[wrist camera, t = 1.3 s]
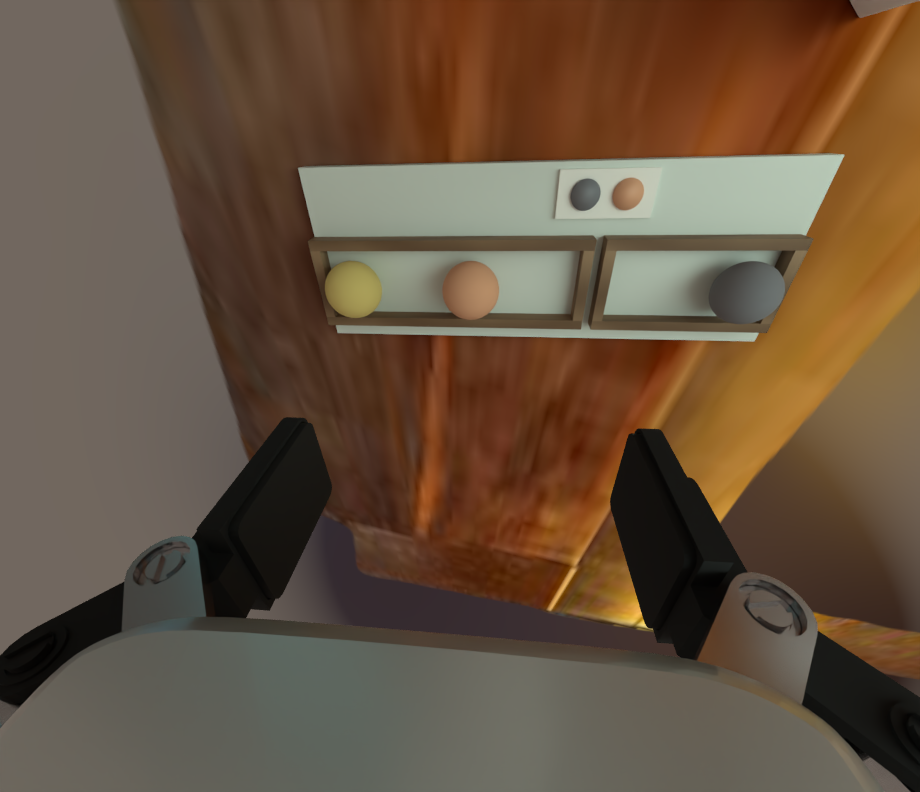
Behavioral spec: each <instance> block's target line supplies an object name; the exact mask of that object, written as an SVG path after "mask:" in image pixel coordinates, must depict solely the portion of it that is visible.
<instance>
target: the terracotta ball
mask: <svg viewBox="0 0 920 792" xmlns="http://www.w3.org/2000/svg"><path fill="white" fill-rule="evenodd" d="M442 293H443V299H444V302H445V304H446V306H447V307H448V309H449V310H450V311H451V312H452V313H453V314H454V315H456V316H457V317H459V318H462V319H466V320H475V319H479V318H482V317H484V316H485V315H487V314H488V313H490V311H491V310H492V309H493V308H494V306H495V305H496V303H497V300H498V296H499V284H498V280H497V278H496V276H495V274H494V273H493V271H492V270H491V269H490V268H489V267H488V266H486V265H485V264H483V263H480V262H477V261H465V262H462V263H459V264H457V265H456V266H454V267H453V268H452V269H451V270H450V271H449V272H448V274H447V275H446V277H445V279H444V282H443V288H442Z"/></svg>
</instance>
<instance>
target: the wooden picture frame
mask: <svg viewBox="0 0 920 792" xmlns="http://www.w3.org/2000/svg"><path fill="white" fill-rule="evenodd" d="M596 241H597V239H596V238H595V237H594V236H593V235H559V236H380V237H313V238H312V239H310V240H308V245H309V249H310V253H311V257H312V261H313V265H314V269H315V273H316V277H317V281H318V284H319V288H320V292H321V296H322V300H323V304H324V308H325V312H326V316H327V320H328V324H329V325H354V326H410V327H466V328H522V329H577V330H581V326H582V321H583V315H584V309H585V304H586V298H587V292H588V287H589V281H590V275H591V270H592V264H593V258H594V253H595V247H596ZM327 251H580V256H579V263H578V269H577V276H576V282H575V289H574V295H573V301H572V308H571V314H526V313H488V314H487V315H485V316H484V317H482V318H479V319H475V320H466V319H462V318H459V317H457V316H456V315H454V314H453V313H452V312H385V311H373V312H372V313H371V314H369V315H367V316H365V317H361V318H350V317H346V316H344V315H342V314H340V313H338V312H337V311H336V310H335V309H334V308H333V307H332V306H331V305H330V303H329V302H328V300H327V297H326V293H325V281H326V278H327V275H328V274H329V272H330V271H331V266H330V262H329V258H328V253H327Z"/></svg>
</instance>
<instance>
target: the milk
mask: <svg viewBox="0 0 920 792" xmlns="http://www.w3.org/2000/svg"><path fill="white" fill-rule="evenodd" d="M916 1H920V0H850V2H851V4H852V6H853V8H854V10H855V11H856V13H857V15H858V17H859V18H862V17H865V16H869V15H872V14H876V13H879V12H882V11H886V10H889V9H893V8H896V7H899V6H903V5H906V4H909V3H913V2H916Z"/></svg>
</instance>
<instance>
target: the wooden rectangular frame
mask: <svg viewBox="0 0 920 792" xmlns="http://www.w3.org/2000/svg"><path fill="white" fill-rule="evenodd" d="M812 241H813V238H810V237H807V236H805V235H802V234H738V235H604V238H603V243H602V249H601V254H600V259H599V265H598V270H597V276H596V281H595V286H594V292H593V297H592V303H591V308H590V313H589V319H588V325H589V327H590V330H633V331H689V332H745V333H767V331H768V329H769V327H770V325H771V323H772V321H773V319H774V317H775V315H776V313H777V311H778V309H779V307H780V305H781V303H782V301H783V299H784V297H785V295H786V293H787V291H788V289H789V287H790V285H791V283H792V281H793V279H794V277H795V275H796V273H797V271H798V269H799V267H800V265H801V263H802V261H803V259H804V257H805V255H806V253H807V251H808V249H809V247H810V245H811V243H812ZM617 251H782V252H781V254H780V256H779V258H778V260H777V263H776V265H775V267H774V268H776V269H777V270H778V271H779V272H780V274H781V275H782V277H783V279H784V282H785V293H784V297H783V299H782V301H781V303H780V305H779V306H778V307H777V308H776V309H775V310H774V311H773V312H772V313H771V314H770V315H768V316H767V317H765V318H763V319H761V320H759V321H756V322H753V323H749V324H733V323H729V322H726V321H724V320H722V319H720V318H719V317H718V316H668V315H603V314H604V309H605V304H606V300H607V295H608V290H609V285H610V280H611V276H612V271H613V266H614V261H615V257H616V252H617Z"/></svg>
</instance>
